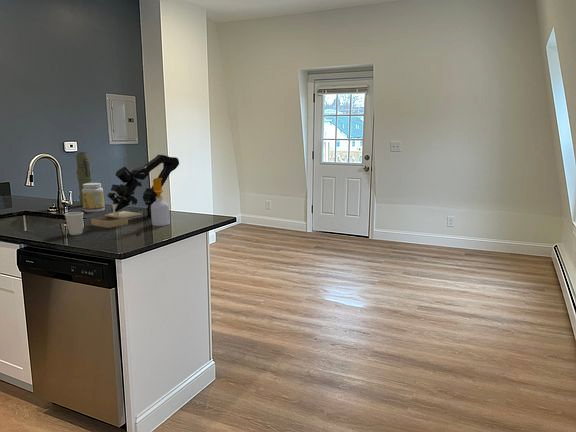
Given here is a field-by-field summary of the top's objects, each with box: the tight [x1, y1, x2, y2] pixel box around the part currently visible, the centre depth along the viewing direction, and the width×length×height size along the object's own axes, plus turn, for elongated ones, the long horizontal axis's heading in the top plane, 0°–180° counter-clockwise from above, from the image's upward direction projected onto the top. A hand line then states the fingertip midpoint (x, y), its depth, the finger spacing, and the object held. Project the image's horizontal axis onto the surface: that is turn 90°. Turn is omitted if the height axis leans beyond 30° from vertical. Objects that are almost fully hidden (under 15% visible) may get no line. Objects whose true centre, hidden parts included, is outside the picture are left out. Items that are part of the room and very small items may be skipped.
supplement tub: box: [82, 182, 106, 213], centre depth 270 cm, size 12×12×17 cm
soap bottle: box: [150, 177, 171, 227], centre depth 227 cm, size 9×9×25 cm
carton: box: [90, 215, 129, 229], centre depth 230 cm, size 12×14×4 cm
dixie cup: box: [64, 211, 84, 236], centre depth 210 cm, size 8×8×10 cm
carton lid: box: [103, 203, 142, 218], centre depth 235 cm, size 12×14×7 cm
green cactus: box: [75, 151, 93, 207], centre depth 288 cm, size 9×12×35 cm
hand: (113, 211), depth 231 cm, fingers closed on carton lid, 2 cm apart
